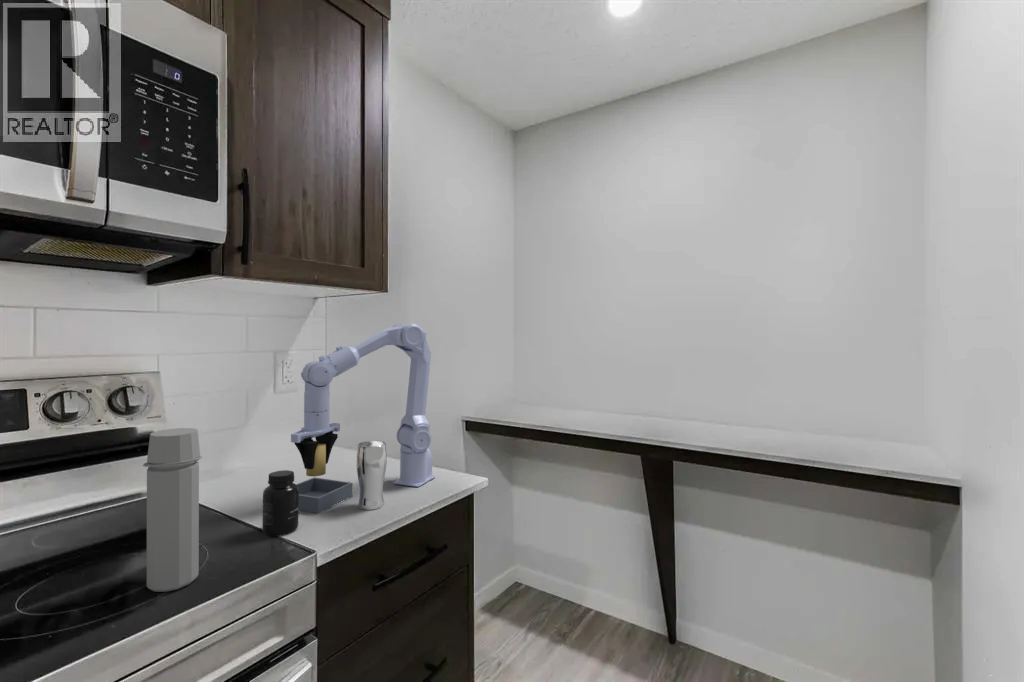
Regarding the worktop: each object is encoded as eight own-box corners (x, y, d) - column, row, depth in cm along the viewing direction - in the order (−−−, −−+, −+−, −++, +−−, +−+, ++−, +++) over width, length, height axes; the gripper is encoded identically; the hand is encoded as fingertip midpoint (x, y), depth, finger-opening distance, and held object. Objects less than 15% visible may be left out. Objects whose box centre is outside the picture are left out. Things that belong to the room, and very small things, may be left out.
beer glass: (349, 507, 113) (350, 444, 113) (371, 498, 119) (371, 438, 119) (371, 512, 110) (372, 448, 109) (392, 503, 116) (392, 442, 115)
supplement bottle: (300, 533, 98) (300, 475, 98) (262, 539, 95) (263, 480, 95) (296, 521, 104) (297, 466, 104) (261, 527, 101) (262, 471, 101)
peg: (315, 470, 119) (315, 442, 119) (329, 472, 118) (329, 444, 117) (302, 475, 115) (302, 446, 115) (316, 477, 113) (317, 448, 113)
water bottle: (207, 581, 79) (208, 432, 78) (148, 601, 73) (149, 439, 73) (191, 562, 85) (192, 424, 85) (136, 579, 79) (136, 430, 79)
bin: (314, 490, 124) (314, 477, 124) (352, 496, 120) (352, 482, 120) (277, 506, 113) (277, 491, 113) (318, 513, 109) (318, 498, 109)
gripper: (324, 405, 124) (323, 456, 124) (280, 414, 110) (280, 472, 111) (346, 407, 122) (346, 459, 122) (304, 416, 108) (304, 475, 108)
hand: (316, 465), depth 116 cm, fingers closed on peg, 4 cm apart
